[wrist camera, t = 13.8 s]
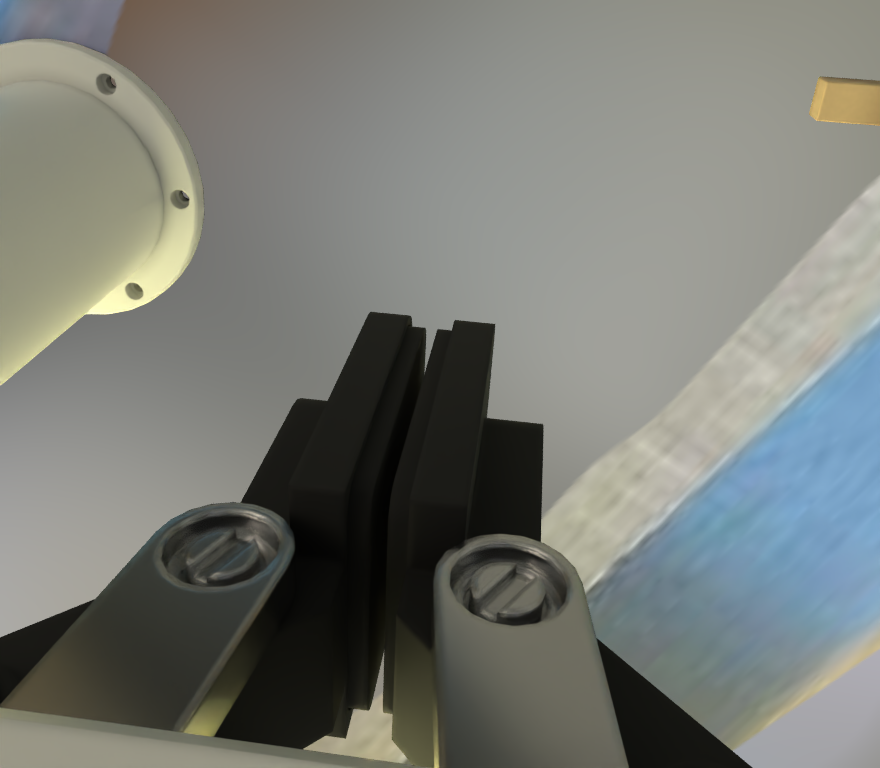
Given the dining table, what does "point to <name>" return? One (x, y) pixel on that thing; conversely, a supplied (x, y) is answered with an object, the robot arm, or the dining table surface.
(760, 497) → the dining table surface
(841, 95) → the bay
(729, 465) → the dining table surface
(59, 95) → the robot arm
